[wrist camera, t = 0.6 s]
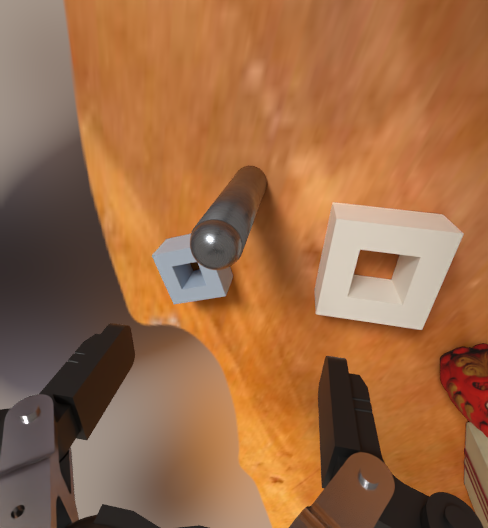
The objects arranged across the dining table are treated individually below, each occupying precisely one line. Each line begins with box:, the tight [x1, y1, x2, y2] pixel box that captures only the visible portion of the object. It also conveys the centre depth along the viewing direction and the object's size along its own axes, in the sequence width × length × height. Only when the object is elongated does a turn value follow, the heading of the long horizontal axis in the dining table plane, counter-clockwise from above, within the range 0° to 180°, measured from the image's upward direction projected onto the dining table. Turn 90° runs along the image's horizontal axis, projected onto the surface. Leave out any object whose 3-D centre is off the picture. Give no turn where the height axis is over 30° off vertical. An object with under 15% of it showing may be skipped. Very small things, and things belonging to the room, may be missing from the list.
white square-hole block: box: [315, 202, 464, 330], centre depth 31 cm, size 10×10×4 cm
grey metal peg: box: [190, 166, 267, 270], centre depth 24 cm, size 3×3×16 cm
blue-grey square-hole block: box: [152, 234, 233, 304], centre depth 34 cm, size 6×6×4 cm
